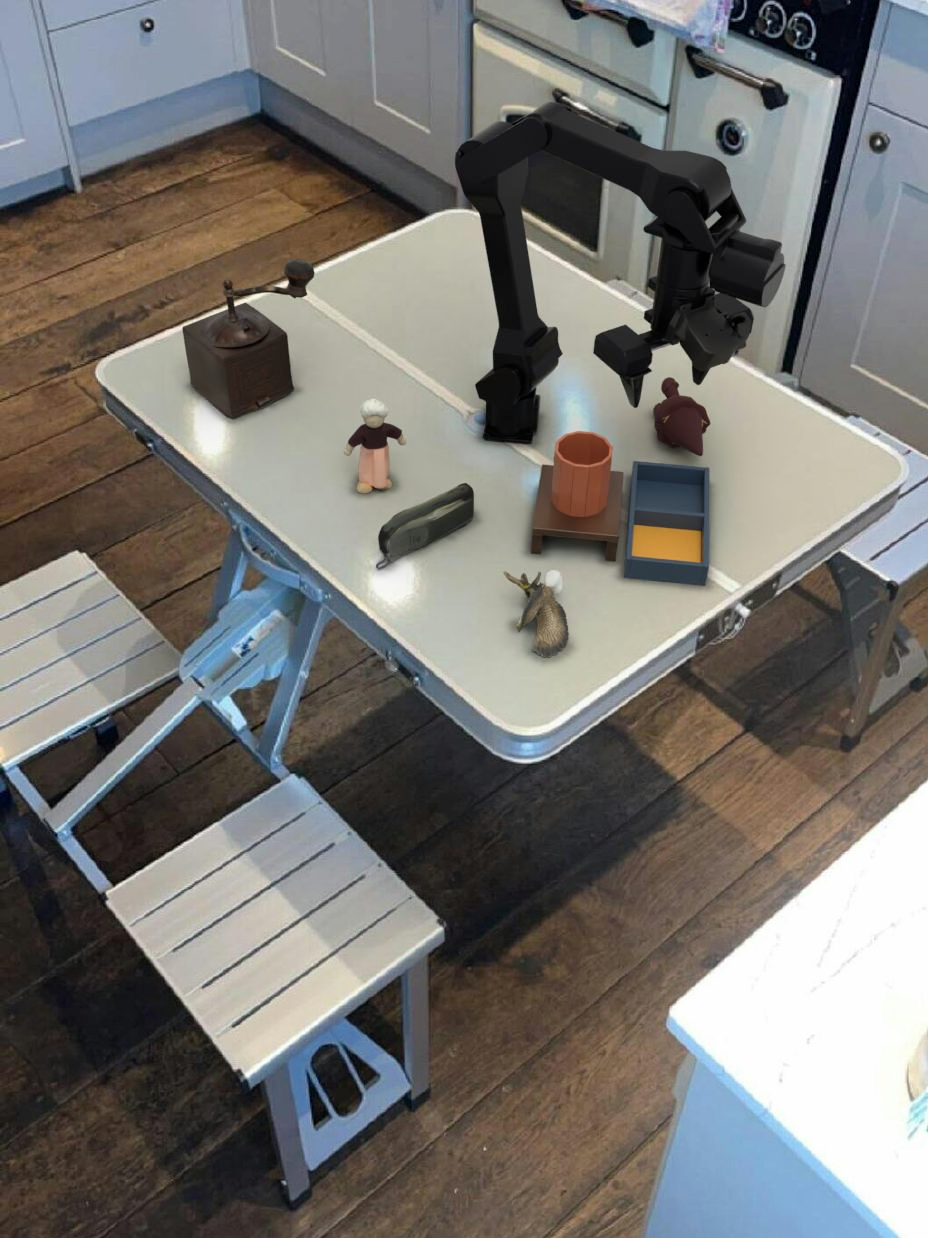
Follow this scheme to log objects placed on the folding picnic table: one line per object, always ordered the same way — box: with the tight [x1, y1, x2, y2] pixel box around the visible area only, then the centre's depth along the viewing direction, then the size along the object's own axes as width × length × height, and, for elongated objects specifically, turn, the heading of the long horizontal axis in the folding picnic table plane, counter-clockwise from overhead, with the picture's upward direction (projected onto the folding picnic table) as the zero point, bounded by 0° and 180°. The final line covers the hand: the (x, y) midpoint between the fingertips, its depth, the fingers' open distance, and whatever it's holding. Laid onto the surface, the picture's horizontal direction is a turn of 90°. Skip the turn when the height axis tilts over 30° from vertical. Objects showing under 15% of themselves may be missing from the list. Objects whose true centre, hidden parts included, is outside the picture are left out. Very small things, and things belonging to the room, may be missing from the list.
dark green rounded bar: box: [375, 482, 475, 570], centre depth 152 cm, size 5×3×15 cm
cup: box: [551, 430, 614, 517], centre depth 151 cm, size 7×7×8 cm
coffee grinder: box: [181, 258, 316, 420], centre depth 170 cm, size 16×11×18 cm
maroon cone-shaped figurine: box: [652, 376, 711, 457], centre depth 165 cm, size 7×7×15 cm
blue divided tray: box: [623, 460, 711, 586], centre depth 155 cm, size 9×18×3 cm, turn 172°
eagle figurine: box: [503, 569, 570, 658], centre depth 142 cm, size 8×7×9 cm
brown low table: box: [530, 464, 625, 562], centre depth 155 cm, size 10×12×4 cm
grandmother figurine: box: [343, 398, 407, 494], centre depth 157 cm, size 8×4×13 cm, turn 117°
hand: (665, 394), depth 152 cm, fingers open, 9 cm apart
